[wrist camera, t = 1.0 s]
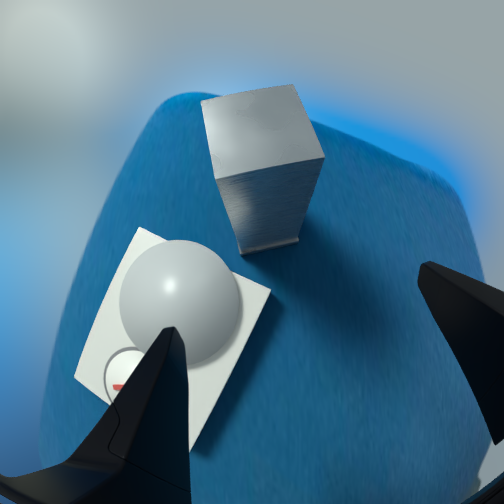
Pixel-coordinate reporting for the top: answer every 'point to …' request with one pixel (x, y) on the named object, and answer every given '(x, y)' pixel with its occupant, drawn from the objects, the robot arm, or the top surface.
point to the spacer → (263, 163)
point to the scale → (172, 319)
